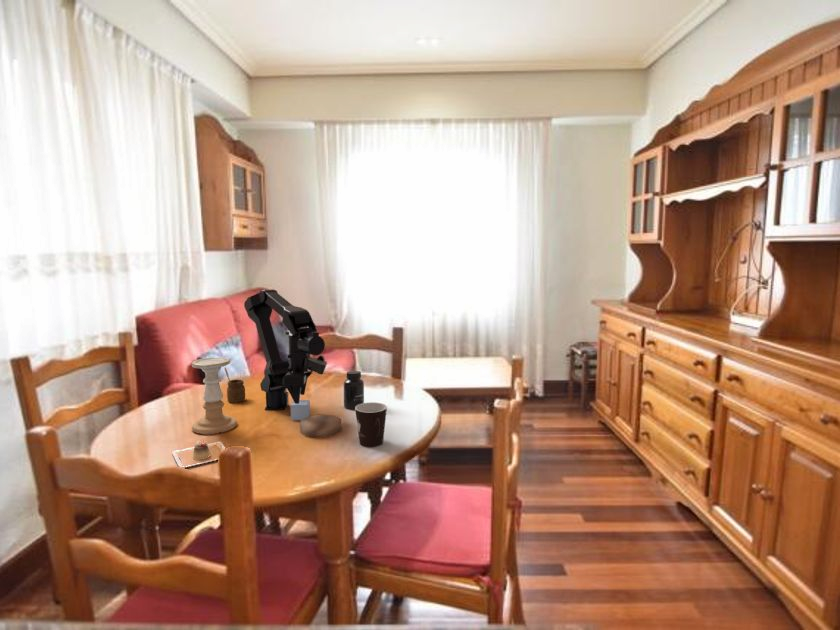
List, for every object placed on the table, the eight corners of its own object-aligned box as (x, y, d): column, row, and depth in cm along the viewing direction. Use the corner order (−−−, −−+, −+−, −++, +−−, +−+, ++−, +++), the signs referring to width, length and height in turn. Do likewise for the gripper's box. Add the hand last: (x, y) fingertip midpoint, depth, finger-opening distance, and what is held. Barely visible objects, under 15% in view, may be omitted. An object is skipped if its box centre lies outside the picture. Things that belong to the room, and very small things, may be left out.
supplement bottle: (360, 410, 157) (359, 375, 155) (340, 409, 158) (340, 374, 157) (366, 404, 164) (366, 370, 162) (347, 402, 165) (347, 369, 163)
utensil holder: (244, 402, 165) (243, 368, 164) (225, 403, 164) (223, 369, 162) (246, 397, 171) (244, 364, 169) (227, 398, 169) (226, 365, 168)
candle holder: (182, 431, 138) (177, 363, 136) (214, 417, 150) (211, 355, 147) (214, 437, 134) (211, 367, 131) (245, 423, 145) (242, 358, 143)
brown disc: (296, 437, 133) (296, 429, 133) (304, 422, 145) (303, 415, 145) (339, 436, 134) (339, 428, 134) (343, 422, 146) (343, 414, 146)
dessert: (232, 460, 120) (231, 442, 119) (179, 472, 113) (178, 453, 113) (220, 445, 130) (219, 428, 129) (171, 455, 123) (170, 437, 122)
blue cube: (291, 420, 147) (290, 405, 147) (294, 415, 152) (293, 400, 152) (307, 420, 148) (306, 404, 147) (310, 415, 153) (309, 400, 152)
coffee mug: (358, 436, 135) (357, 402, 133) (388, 436, 134) (388, 402, 133) (351, 453, 123) (350, 416, 122) (384, 453, 123) (383, 416, 121)
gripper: (320, 356, 139) (321, 408, 141) (328, 344, 157) (329, 390, 159) (281, 356, 138) (283, 408, 140) (294, 344, 156) (295, 390, 158)
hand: (299, 399), depth 149 cm, fingers open, 9 cm apart
